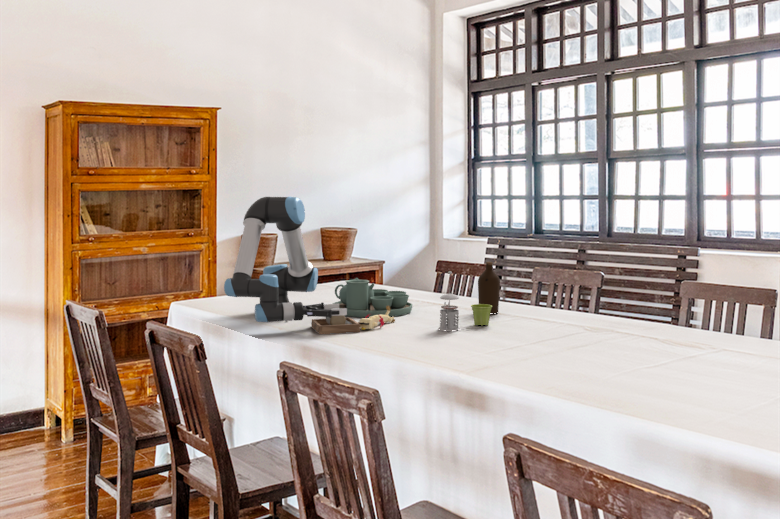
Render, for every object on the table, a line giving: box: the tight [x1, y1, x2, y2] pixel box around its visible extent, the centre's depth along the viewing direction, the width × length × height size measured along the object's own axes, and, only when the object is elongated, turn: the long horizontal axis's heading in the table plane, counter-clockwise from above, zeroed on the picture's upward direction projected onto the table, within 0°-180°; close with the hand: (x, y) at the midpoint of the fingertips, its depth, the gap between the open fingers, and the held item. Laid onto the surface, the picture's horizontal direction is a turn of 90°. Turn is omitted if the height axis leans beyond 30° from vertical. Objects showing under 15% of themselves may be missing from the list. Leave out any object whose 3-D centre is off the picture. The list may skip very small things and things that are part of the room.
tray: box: [311, 316, 361, 335], centre depth 291 cm, size 17×17×3 cm
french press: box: [437, 270, 461, 332], centre depth 290 cm, size 10×12×25 cm
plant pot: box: [470, 303, 492, 326], centre depth 302 cm, size 9×9×9 cm
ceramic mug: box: [325, 308, 352, 325], centre depth 291 cm, size 11×8×8 cm
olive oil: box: [477, 261, 501, 313], centre depth 333 cm, size 11×11×25 cm
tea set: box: [331, 277, 413, 318], centre depth 339 cm, size 40×40×16 cm
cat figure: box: [357, 306, 396, 330], centre depth 299 cm, size 10×9×25 cm
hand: (342, 309), depth 291 cm, fingers open, 13 cm apart
